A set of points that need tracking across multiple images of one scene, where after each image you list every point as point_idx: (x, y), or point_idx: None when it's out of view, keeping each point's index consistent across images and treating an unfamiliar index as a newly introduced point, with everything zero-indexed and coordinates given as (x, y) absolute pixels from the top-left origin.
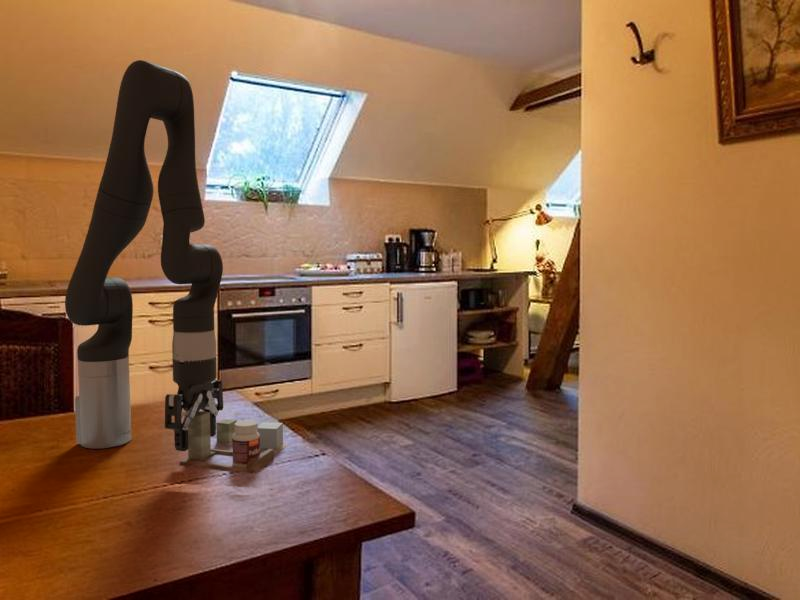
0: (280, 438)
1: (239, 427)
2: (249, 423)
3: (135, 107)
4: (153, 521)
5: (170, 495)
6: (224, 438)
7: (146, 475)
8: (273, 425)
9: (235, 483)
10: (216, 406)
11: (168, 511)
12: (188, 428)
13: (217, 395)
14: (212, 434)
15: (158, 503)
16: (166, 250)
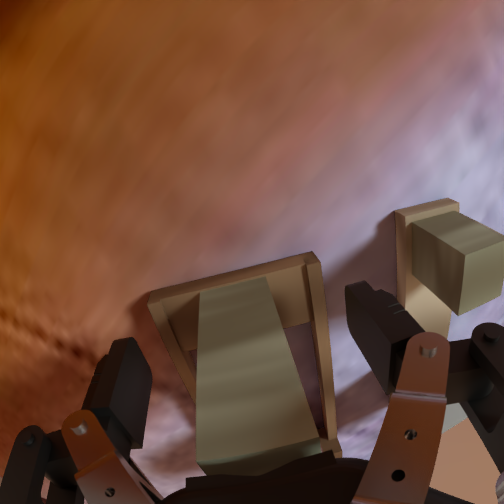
0: None
1: None
2: None
3: None
4: (4, 422)
5: (49, 390)
6: (423, 263)
7: (51, 235)
8: (450, 420)
9: (187, 446)
10: (461, 400)
11: (29, 423)
12: (199, 389)
13: (498, 452)
14: (350, 329)
15: (21, 394)
16: None
